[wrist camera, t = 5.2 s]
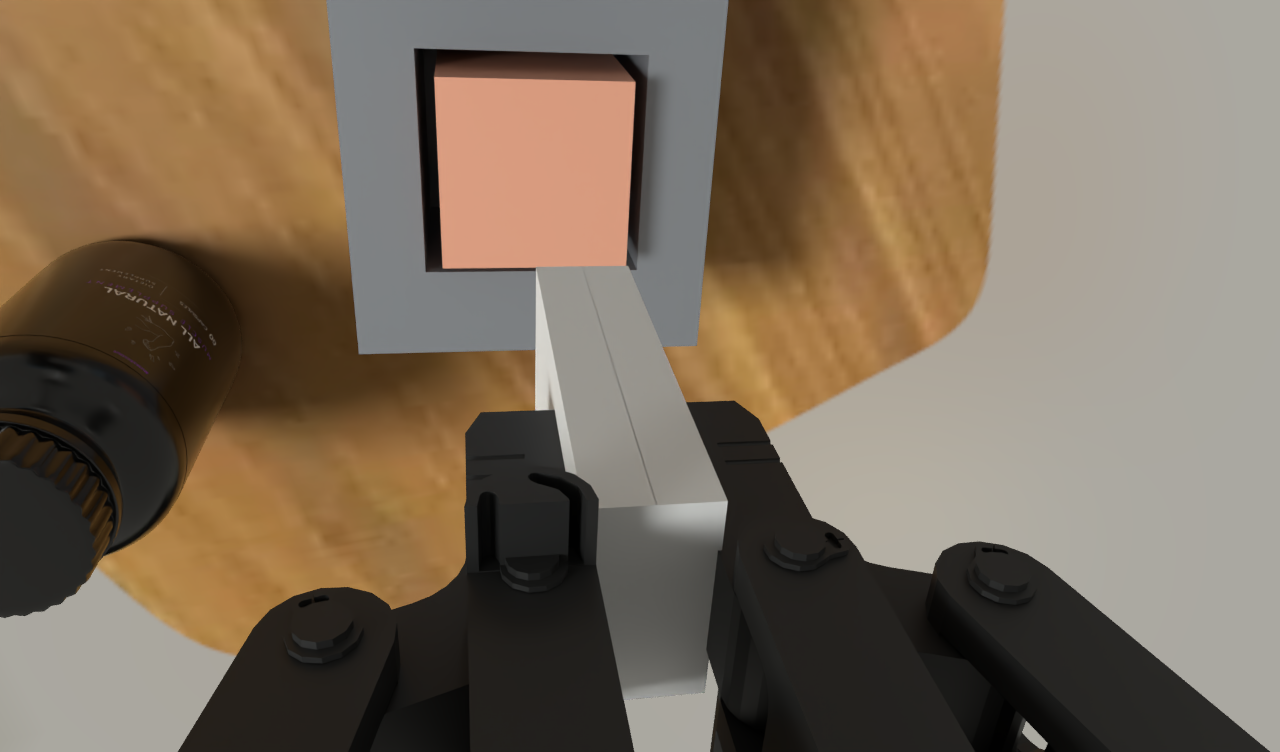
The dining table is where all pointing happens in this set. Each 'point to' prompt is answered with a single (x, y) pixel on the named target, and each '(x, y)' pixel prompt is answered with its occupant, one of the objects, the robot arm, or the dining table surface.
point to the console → (408, 160)
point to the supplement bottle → (102, 408)
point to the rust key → (533, 158)
